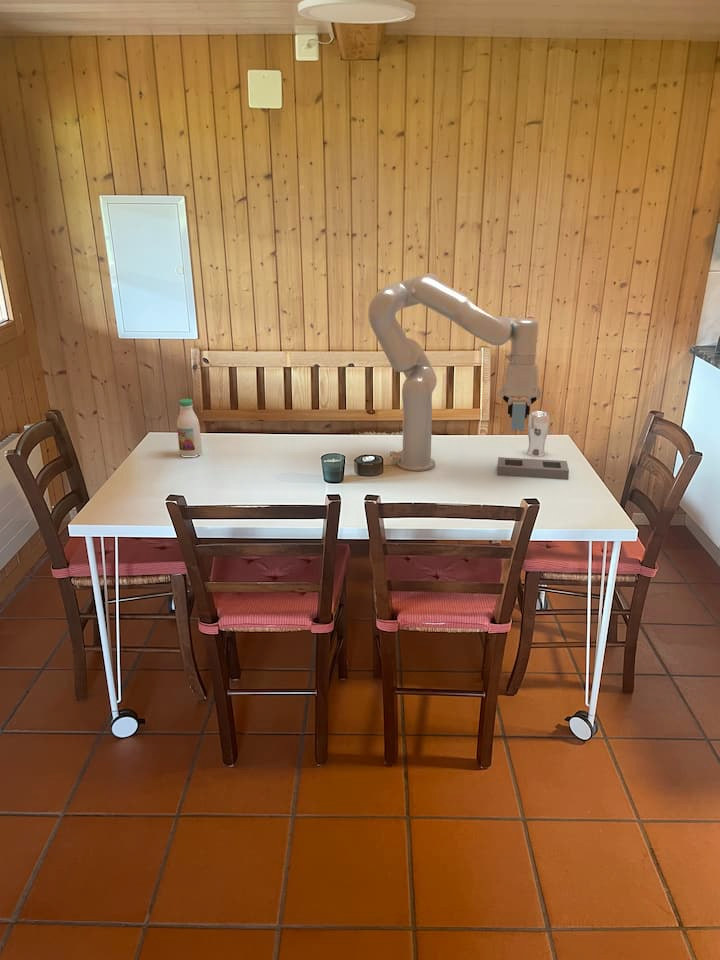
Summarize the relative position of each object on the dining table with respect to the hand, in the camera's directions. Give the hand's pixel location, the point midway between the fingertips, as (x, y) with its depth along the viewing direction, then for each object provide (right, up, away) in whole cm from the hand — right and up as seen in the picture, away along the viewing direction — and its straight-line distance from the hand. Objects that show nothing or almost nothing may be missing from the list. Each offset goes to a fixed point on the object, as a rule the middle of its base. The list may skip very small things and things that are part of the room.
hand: (518, 416), depth 220 cm
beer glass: (+11, -12, +23) cm, 28 cm away
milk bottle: (-110, -11, +26) cm, 114 cm away
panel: (+6, -18, +6) cm, 20 cm away
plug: (0, -4, +1) cm, 4 cm away
